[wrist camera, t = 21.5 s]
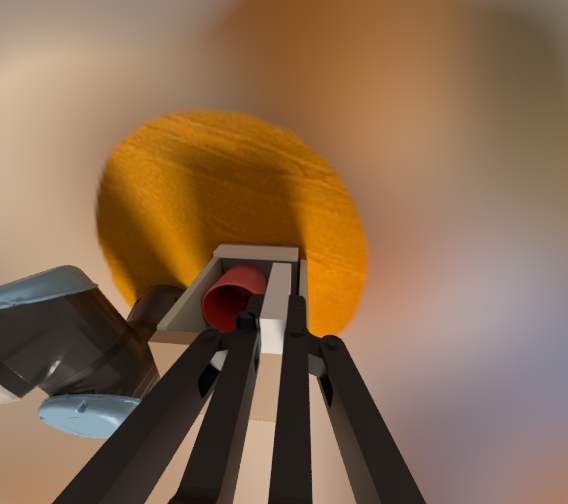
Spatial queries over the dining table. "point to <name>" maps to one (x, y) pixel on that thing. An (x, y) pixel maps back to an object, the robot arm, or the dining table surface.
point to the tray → (259, 258)
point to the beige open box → (191, 322)
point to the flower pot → (232, 295)
